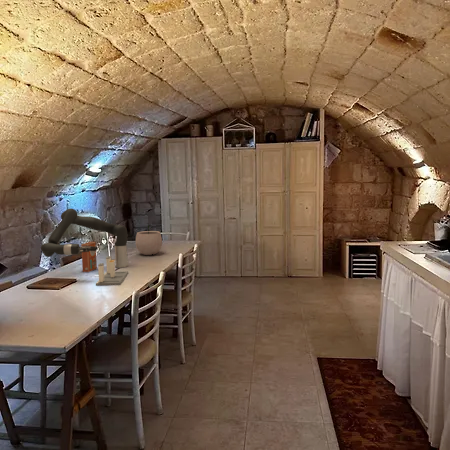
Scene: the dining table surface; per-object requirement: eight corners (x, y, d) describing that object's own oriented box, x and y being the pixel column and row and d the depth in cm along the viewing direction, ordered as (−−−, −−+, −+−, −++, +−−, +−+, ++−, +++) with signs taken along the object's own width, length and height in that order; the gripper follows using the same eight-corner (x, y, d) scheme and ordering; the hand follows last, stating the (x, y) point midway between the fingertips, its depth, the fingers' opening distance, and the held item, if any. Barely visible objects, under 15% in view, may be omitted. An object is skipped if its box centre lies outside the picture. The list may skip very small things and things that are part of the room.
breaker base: (95, 285, 284) (94, 265, 282) (106, 273, 319) (105, 255, 317) (120, 285, 285) (119, 264, 283) (128, 273, 320) (127, 255, 318)
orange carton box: (98, 268, 338) (88, 272, 324) (90, 268, 340) (80, 272, 325) (97, 241, 336) (87, 244, 321) (89, 241, 337) (79, 244, 323)
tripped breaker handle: (110, 277, 299) (109, 260, 298) (111, 275, 304) (110, 259, 303) (114, 277, 299) (113, 260, 298) (115, 275, 304) (114, 259, 303)
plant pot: (163, 256, 386) (162, 223, 383) (136, 257, 381) (135, 224, 378) (161, 251, 409) (160, 220, 406) (135, 253, 404) (134, 221, 401)
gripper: (68, 245, 290) (94, 245, 291) (74, 242, 304) (98, 241, 305) (69, 256, 291) (94, 255, 292) (74, 252, 305) (99, 252, 306)
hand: (96, 248), depth 299 cm, fingers open, 3 cm apart
